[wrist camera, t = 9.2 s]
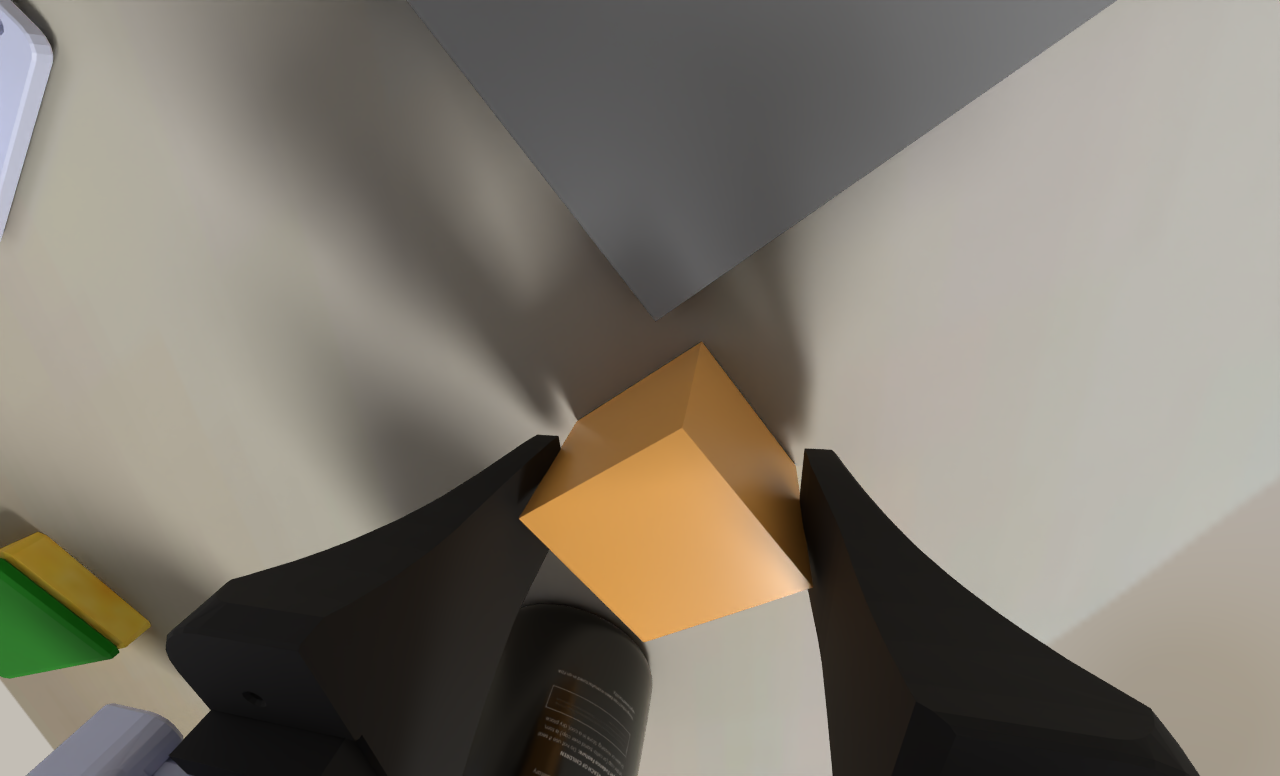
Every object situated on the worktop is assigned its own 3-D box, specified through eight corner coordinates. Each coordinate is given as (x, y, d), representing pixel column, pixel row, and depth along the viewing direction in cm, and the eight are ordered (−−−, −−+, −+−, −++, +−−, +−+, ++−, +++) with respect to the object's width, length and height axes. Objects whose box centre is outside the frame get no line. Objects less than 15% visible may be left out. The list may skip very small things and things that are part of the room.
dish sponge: (-48, 569, 29) (-110, 603, 27) (51, 524, 24) (-16, 562, 22) (54, 644, 31) (4, 680, 29) (163, 618, 26) (112, 660, 24)
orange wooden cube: (576, 421, 14) (518, 518, 10) (702, 341, 12) (682, 427, 8) (668, 523, 15) (643, 642, 11) (795, 466, 13) (812, 587, 9)
